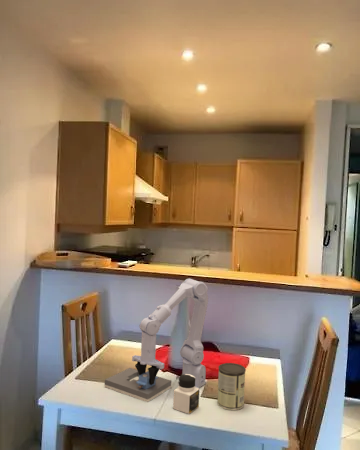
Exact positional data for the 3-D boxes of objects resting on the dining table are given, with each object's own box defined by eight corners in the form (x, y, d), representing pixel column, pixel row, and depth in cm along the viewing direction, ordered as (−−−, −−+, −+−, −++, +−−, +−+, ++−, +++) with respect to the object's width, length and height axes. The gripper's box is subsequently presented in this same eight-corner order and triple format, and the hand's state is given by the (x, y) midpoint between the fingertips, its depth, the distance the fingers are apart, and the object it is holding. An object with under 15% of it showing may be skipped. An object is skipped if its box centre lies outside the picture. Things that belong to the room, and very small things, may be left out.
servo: (157, 383, 167) (158, 371, 166) (143, 391, 158) (143, 379, 158) (149, 380, 169) (150, 369, 169) (135, 388, 161) (135, 376, 160)
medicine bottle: (189, 414, 148) (190, 381, 148) (172, 408, 152) (174, 376, 151) (199, 407, 154) (200, 375, 154) (182, 401, 158) (184, 370, 157)
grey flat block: (171, 387, 170) (171, 380, 170) (147, 402, 156) (148, 394, 156) (129, 374, 181) (129, 367, 181) (104, 386, 168) (104, 379, 168)
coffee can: (218, 396, 164) (220, 361, 163) (244, 400, 161) (246, 364, 161) (215, 408, 154) (216, 371, 153) (242, 412, 151) (244, 374, 151)
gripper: (127, 347, 164) (126, 381, 164) (157, 355, 156) (156, 390, 156) (138, 343, 170) (137, 375, 170) (167, 350, 162) (166, 384, 162)
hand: (147, 382), depth 164 cm, fingers closed on servo, 4 cm apart
